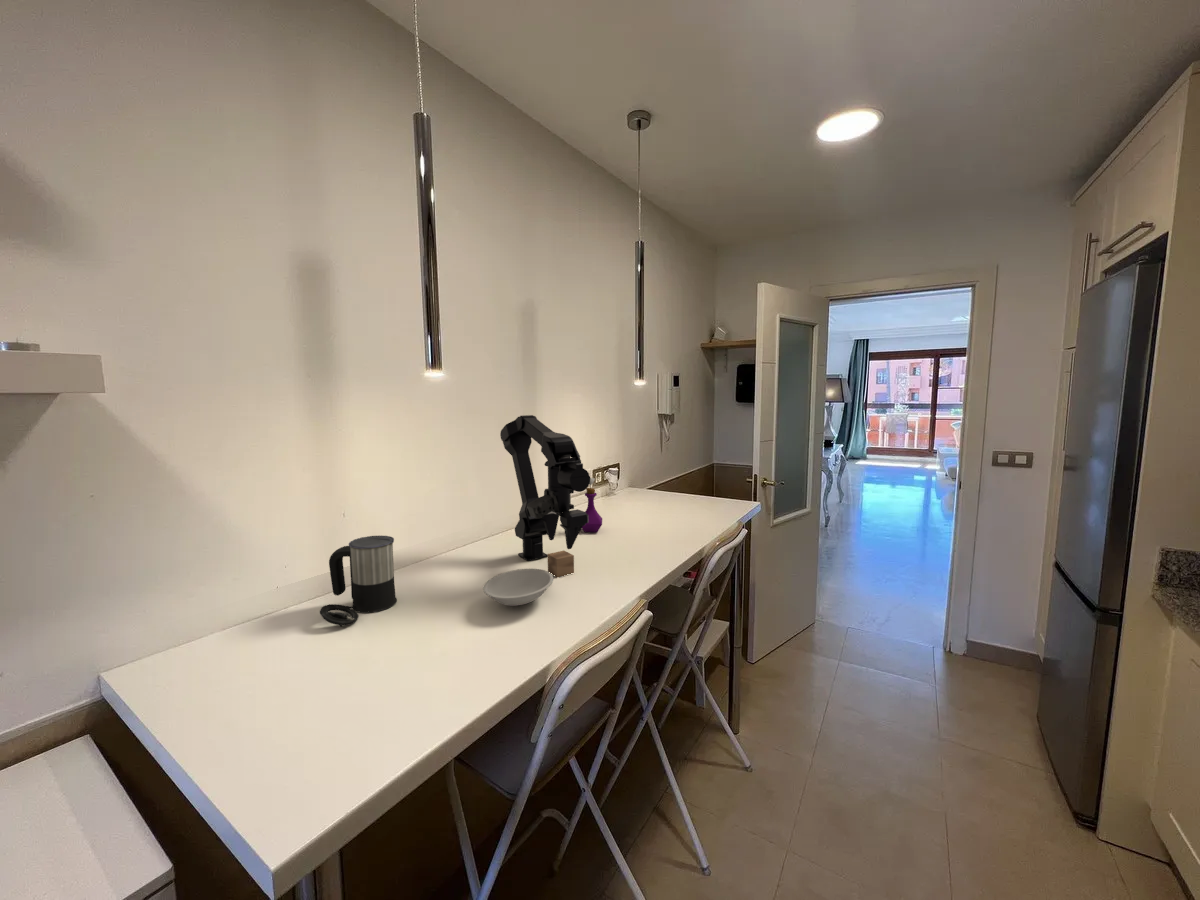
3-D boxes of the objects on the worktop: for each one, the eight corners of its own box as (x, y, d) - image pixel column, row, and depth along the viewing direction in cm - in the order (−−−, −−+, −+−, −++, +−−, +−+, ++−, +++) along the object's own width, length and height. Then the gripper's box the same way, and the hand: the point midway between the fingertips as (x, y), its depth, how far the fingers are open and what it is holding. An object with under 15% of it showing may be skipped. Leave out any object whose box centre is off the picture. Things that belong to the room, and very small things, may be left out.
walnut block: (547, 572, 132) (547, 553, 132) (564, 568, 135) (564, 550, 135) (557, 578, 128) (556, 559, 128) (574, 573, 131) (573, 555, 131)
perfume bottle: (602, 533, 167) (601, 480, 164) (579, 534, 167) (578, 480, 165) (602, 527, 174) (602, 476, 172) (580, 527, 174) (580, 476, 172)
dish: (515, 584, 124) (515, 564, 124) (566, 594, 118) (566, 573, 117) (468, 613, 108) (467, 591, 108) (524, 626, 102) (523, 602, 102)
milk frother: (399, 594, 119) (395, 533, 117) (393, 623, 104) (389, 554, 102) (332, 602, 115) (327, 539, 113) (316, 634, 100) (310, 561, 98)
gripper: (514, 483, 132) (516, 540, 134) (549, 495, 117) (550, 560, 119) (552, 478, 138) (552, 533, 140) (589, 489, 123) (589, 551, 125)
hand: (560, 544), depth 131 cm, fingers open, 9 cm apart
